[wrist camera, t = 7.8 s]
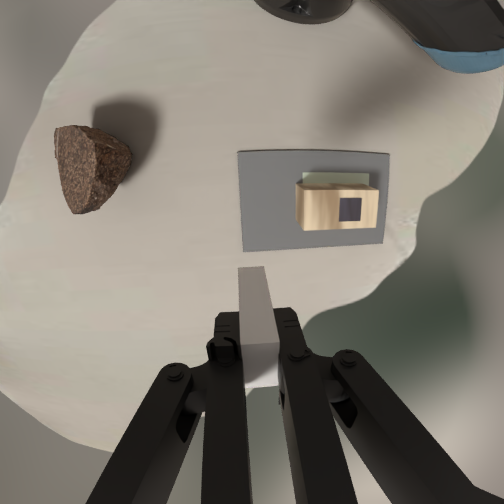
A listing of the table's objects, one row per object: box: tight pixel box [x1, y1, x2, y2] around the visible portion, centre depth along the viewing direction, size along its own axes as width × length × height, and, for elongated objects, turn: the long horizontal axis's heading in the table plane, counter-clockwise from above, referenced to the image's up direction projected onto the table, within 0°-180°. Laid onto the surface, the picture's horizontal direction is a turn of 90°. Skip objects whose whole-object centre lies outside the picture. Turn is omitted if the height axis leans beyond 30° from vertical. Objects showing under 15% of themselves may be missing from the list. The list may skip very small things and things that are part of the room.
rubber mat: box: [238, 150, 390, 252], centre depth 37 cm, size 22×14×1 cm, turn 92°
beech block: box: [296, 183, 379, 231], centre depth 35 cm, size 5×5×10 cm
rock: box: [54, 125, 132, 214], centre depth 28 cm, size 12×10×10 cm
